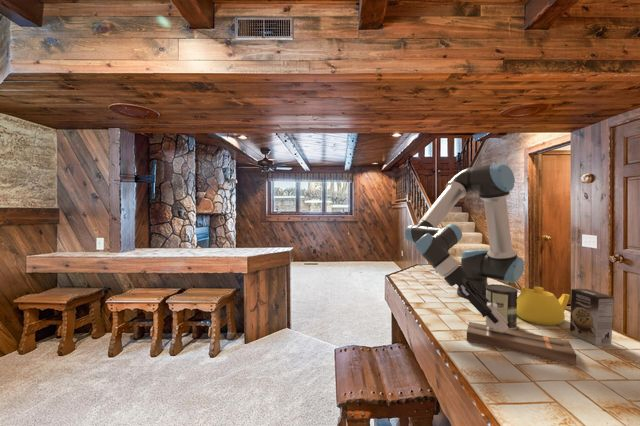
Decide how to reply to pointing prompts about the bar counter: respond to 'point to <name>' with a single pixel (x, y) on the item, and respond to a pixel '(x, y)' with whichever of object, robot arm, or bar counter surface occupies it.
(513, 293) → the coffee can
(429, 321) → the bar counter surface
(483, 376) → the bar counter surface
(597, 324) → the cookie box
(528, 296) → the teapot
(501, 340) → the brown slab
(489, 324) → the fader
